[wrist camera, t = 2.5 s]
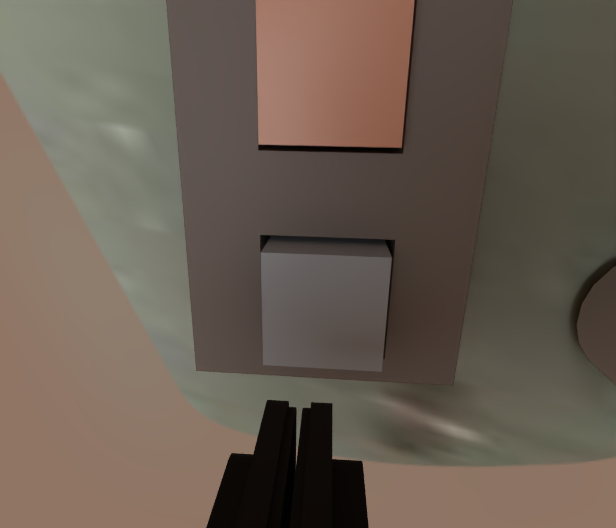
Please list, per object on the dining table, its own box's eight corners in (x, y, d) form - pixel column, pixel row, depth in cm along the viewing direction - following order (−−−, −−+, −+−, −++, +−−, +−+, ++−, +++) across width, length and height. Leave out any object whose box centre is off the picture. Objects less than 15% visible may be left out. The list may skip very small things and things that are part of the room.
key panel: (191, -283, 16) (128, -456, 11) (511, -297, 15) (589, -489, 10) (224, 322, 24) (196, 370, 20) (430, 333, 24) (453, 385, 19)
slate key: (275, 227, 20) (260, 252, 16) (381, 231, 19) (391, 257, 15) (276, 322, 21) (262, 365, 17) (374, 327, 21) (381, 371, 17)
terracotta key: (274, 11, 17) (255, -21, 13) (398, 11, 16) (416, -22, 13) (275, 140, 18) (258, 144, 15) (388, 142, 18) (401, 147, 14)
